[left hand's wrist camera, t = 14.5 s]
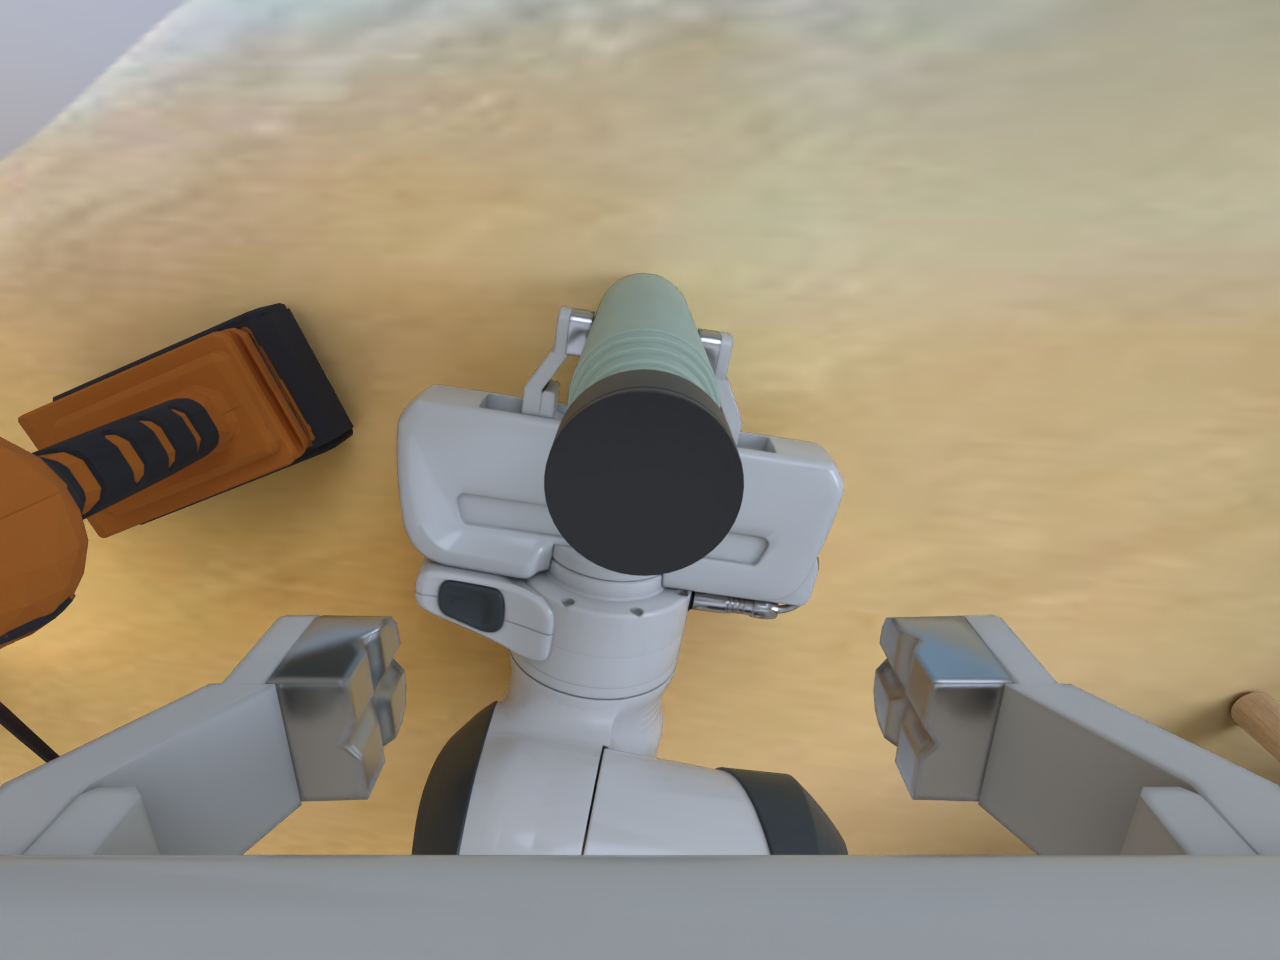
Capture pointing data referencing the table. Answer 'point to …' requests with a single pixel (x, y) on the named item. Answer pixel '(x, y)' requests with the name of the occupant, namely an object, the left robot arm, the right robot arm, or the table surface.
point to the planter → (1259, 720)
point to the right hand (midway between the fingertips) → (645, 321)
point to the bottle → (643, 336)
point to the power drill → (154, 449)
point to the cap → (644, 474)
